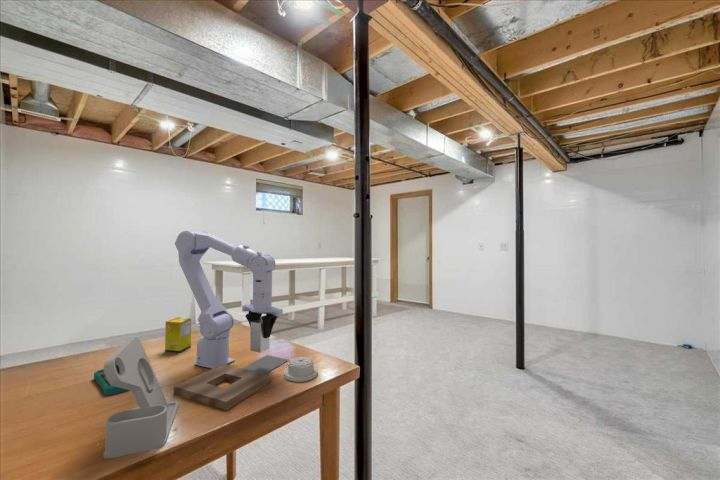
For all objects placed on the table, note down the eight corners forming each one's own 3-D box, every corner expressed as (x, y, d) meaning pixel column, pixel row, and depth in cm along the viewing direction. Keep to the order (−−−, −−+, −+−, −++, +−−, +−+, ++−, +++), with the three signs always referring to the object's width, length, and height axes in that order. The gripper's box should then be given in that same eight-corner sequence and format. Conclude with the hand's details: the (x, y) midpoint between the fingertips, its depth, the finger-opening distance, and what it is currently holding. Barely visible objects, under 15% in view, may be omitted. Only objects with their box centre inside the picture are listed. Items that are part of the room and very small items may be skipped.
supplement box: (176, 346, 113) (177, 317, 113) (191, 347, 113) (192, 317, 113) (164, 352, 107) (164, 321, 107) (179, 353, 107) (180, 322, 107)
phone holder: (164, 448, 59) (166, 355, 59) (98, 462, 55) (100, 362, 55) (179, 403, 75) (181, 330, 75) (130, 411, 71) (131, 334, 71)
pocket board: (173, 394, 79) (173, 386, 79) (222, 370, 94) (223, 363, 94) (226, 410, 72) (226, 401, 72) (270, 381, 87) (270, 374, 87)
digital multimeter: (106, 398, 77) (106, 387, 77) (93, 380, 86) (93, 370, 86) (140, 388, 83) (141, 377, 83) (124, 372, 92) (125, 362, 92)
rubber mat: (236, 371, 93) (236, 370, 93) (267, 356, 106) (267, 355, 106) (260, 377, 89) (260, 376, 89) (288, 360, 102) (288, 359, 102)
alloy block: (250, 350, 95) (250, 321, 94) (259, 346, 98) (259, 318, 98) (260, 352, 93) (260, 323, 93) (269, 348, 97) (269, 320, 97)
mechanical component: (277, 380, 88) (310, 384, 86) (278, 365, 88) (310, 369, 86) (292, 366, 98) (321, 370, 96) (292, 353, 98) (321, 356, 96)
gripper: (235, 293, 95) (234, 336, 95) (272, 297, 90) (271, 343, 90) (251, 290, 102) (250, 330, 102) (287, 293, 96) (286, 336, 96)
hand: (261, 336), depth 96 cm, fingers closed on alloy block, 4 cm apart
